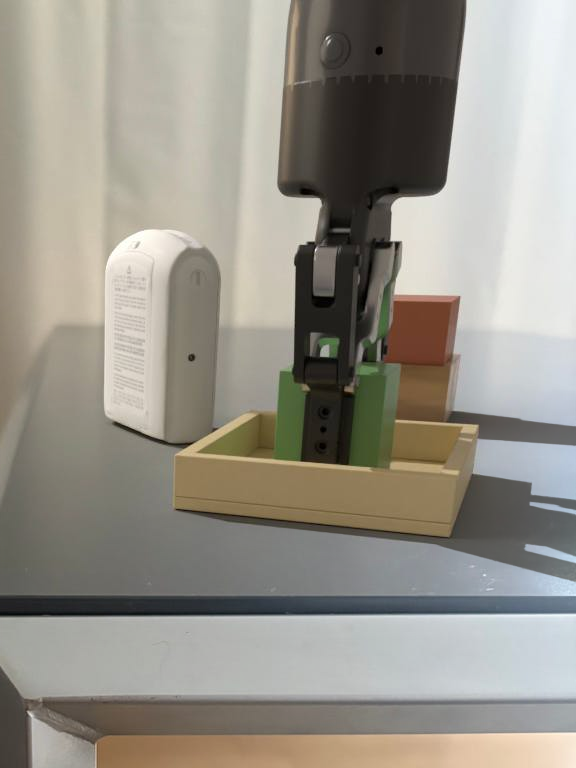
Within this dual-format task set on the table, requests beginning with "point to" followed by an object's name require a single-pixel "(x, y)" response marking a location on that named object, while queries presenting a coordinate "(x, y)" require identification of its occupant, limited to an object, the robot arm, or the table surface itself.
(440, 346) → the middle block
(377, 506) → the tray
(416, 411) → the base block
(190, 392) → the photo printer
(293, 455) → the green block
